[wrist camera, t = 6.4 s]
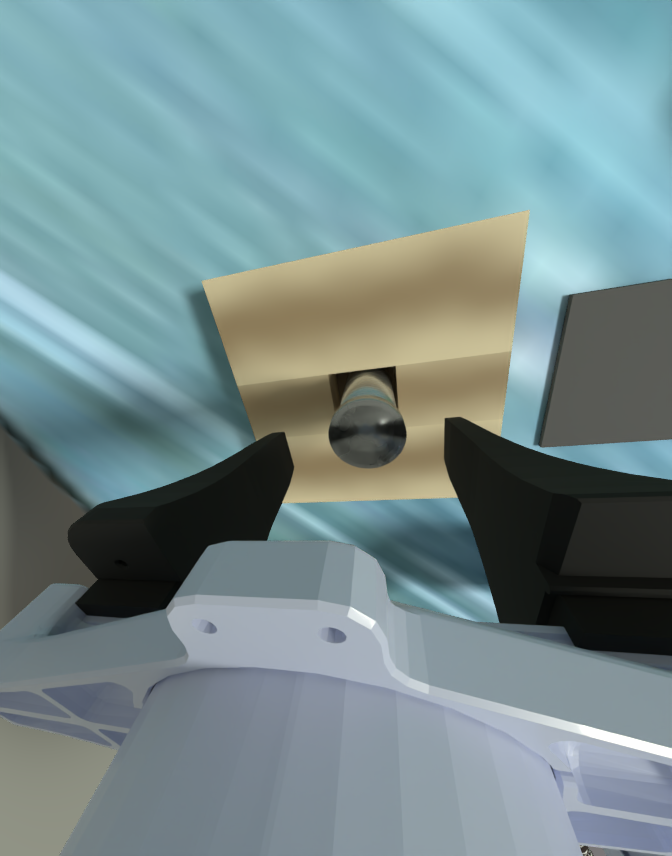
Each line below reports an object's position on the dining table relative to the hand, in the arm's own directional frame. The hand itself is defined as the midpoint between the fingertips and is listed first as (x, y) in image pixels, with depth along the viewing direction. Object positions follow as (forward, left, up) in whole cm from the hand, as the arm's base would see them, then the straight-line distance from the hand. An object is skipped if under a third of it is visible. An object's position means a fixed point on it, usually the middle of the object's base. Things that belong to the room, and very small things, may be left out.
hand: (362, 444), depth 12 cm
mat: (-1, -17, -8) cm, 19 cm away
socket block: (0, 0, -8) cm, 8 cm away
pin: (+1, 0, -8) cm, 8 cm away
